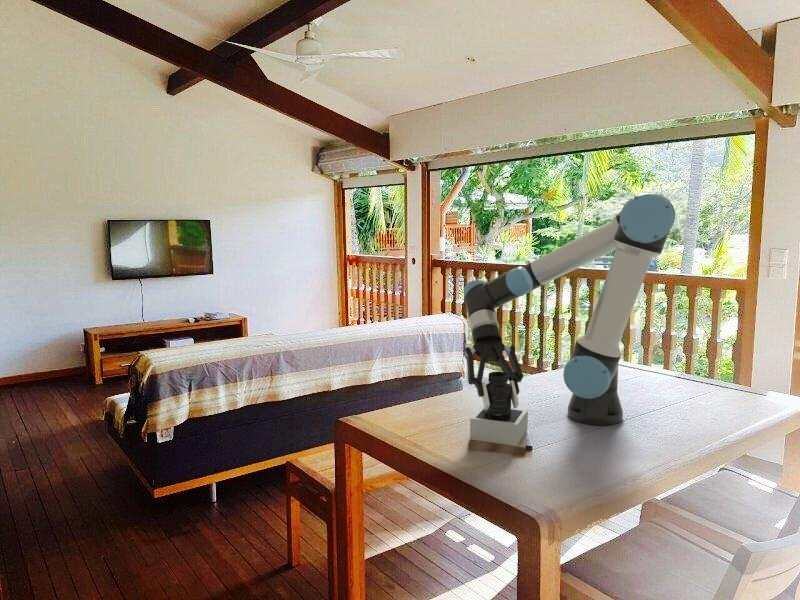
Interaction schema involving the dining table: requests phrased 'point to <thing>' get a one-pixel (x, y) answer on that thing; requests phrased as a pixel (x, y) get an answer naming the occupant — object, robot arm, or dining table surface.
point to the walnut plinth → (498, 446)
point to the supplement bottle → (498, 397)
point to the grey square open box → (499, 428)
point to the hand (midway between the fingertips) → (501, 406)
